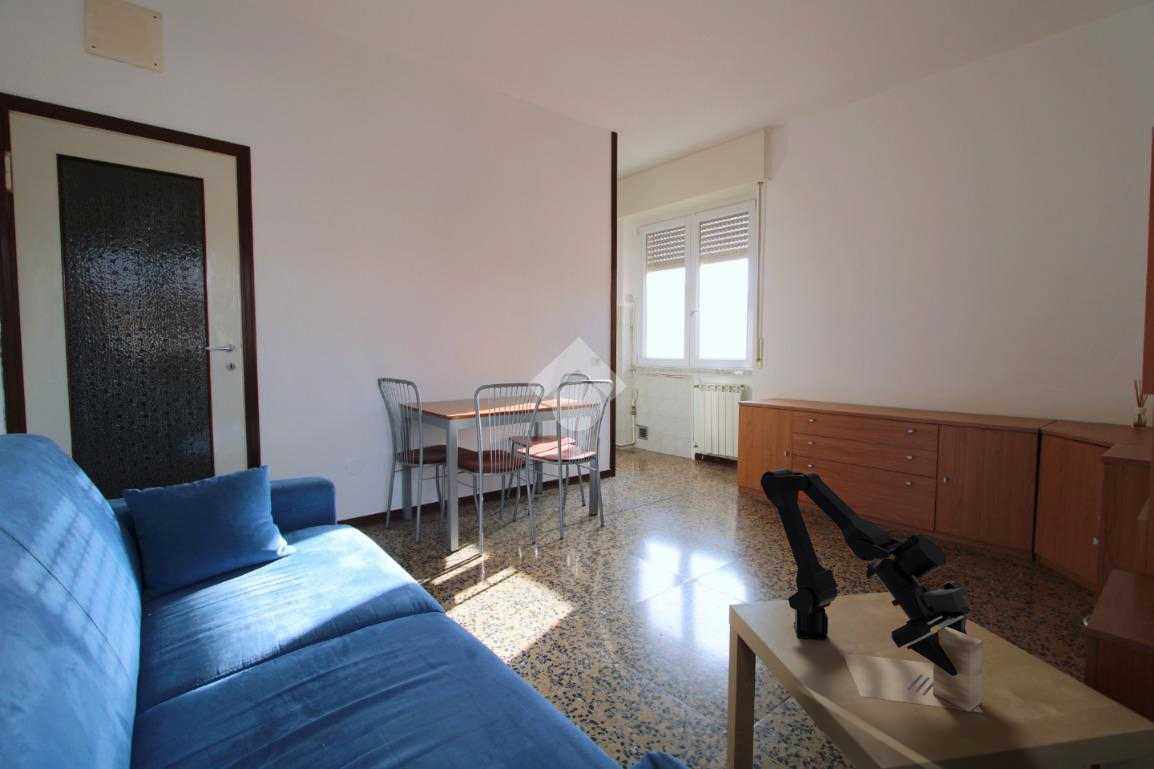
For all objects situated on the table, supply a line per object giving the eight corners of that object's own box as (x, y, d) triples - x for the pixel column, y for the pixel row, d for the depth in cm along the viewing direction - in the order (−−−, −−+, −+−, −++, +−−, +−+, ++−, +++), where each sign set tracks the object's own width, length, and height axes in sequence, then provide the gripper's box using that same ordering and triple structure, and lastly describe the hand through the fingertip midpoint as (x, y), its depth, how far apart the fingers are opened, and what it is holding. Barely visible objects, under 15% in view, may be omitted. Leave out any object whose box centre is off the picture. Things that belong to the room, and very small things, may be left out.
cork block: (933, 694, 101) (934, 633, 100) (945, 686, 103) (946, 626, 102) (969, 712, 96) (970, 648, 95) (981, 704, 98) (982, 640, 97)
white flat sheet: (860, 702, 101) (860, 696, 101) (842, 658, 115) (842, 652, 115) (982, 718, 96) (983, 712, 96) (947, 670, 110) (948, 664, 110)
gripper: (909, 581, 97) (977, 670, 88) (960, 559, 106) (1027, 638, 97) (866, 606, 104) (926, 690, 95) (918, 584, 113) (976, 659, 104)
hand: (965, 668), depth 98 cm, fingers open, 7 cm apart
